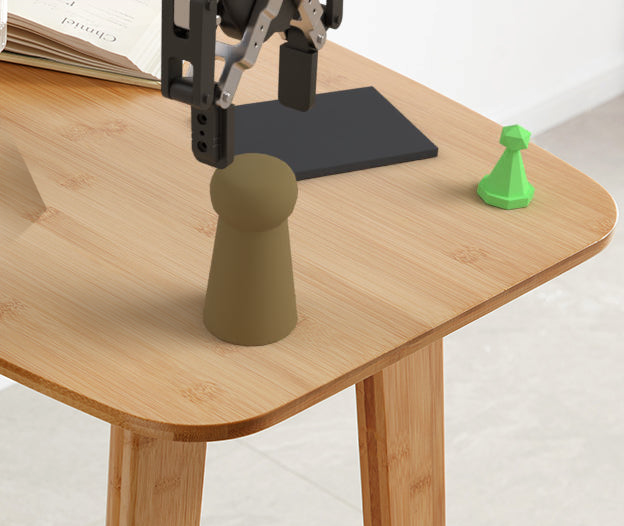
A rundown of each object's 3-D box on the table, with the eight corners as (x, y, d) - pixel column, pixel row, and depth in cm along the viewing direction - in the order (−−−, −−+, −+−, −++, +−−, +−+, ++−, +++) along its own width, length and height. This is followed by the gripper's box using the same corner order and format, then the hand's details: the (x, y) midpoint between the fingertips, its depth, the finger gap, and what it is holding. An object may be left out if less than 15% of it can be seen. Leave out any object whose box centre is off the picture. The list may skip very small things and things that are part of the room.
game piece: (544, 198, 87) (559, 127, 83) (508, 215, 84) (521, 143, 81) (501, 175, 89) (514, 105, 85) (465, 191, 87) (476, 120, 83)
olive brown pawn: (187, 332, 71) (185, 177, 64) (223, 281, 75) (225, 132, 69) (278, 355, 69) (286, 200, 63) (310, 301, 74) (320, 152, 67)
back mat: (252, 188, 85) (252, 179, 85) (199, 118, 94) (199, 110, 93) (437, 156, 91) (439, 147, 90) (371, 93, 100) (372, 85, 99)
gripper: (277, -203, 62) (269, 75, 71) (108, -152, 51) (125, 164, 61) (399, -180, 59) (373, 107, 68) (246, -120, 48) (241, 206, 58)
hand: (256, 133), depth 65 cm, fingers open, 8 cm apart
